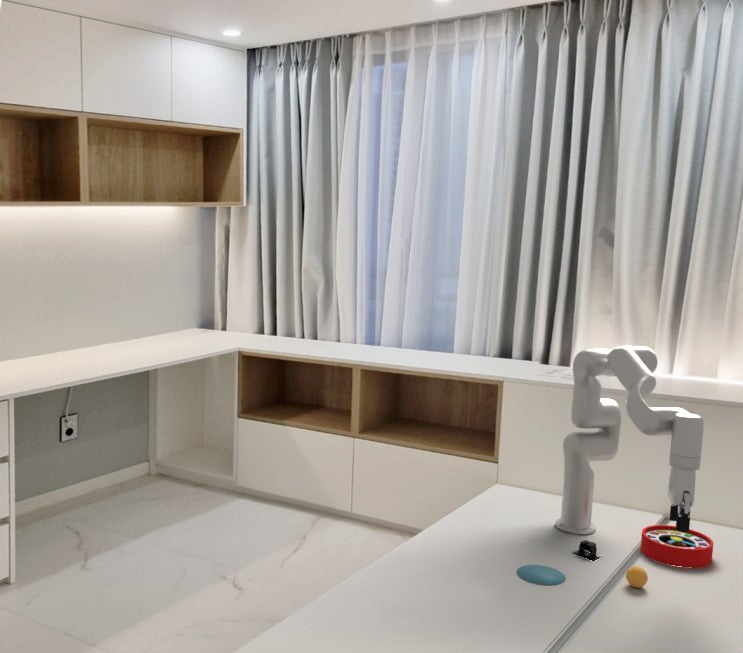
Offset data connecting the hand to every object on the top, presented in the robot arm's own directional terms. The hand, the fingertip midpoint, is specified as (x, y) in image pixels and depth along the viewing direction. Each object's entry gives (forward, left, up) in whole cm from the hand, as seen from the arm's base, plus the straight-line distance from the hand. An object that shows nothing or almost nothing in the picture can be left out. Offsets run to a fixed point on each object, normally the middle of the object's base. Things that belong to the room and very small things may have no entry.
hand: (679, 525), depth 207 cm
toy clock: (-28, +6, -19) cm, 34 cm away
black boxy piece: (-19, -21, -19) cm, 34 cm away
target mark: (0, -35, -18) cm, 39 cm away
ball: (0, -10, -15) cm, 18 cm away
